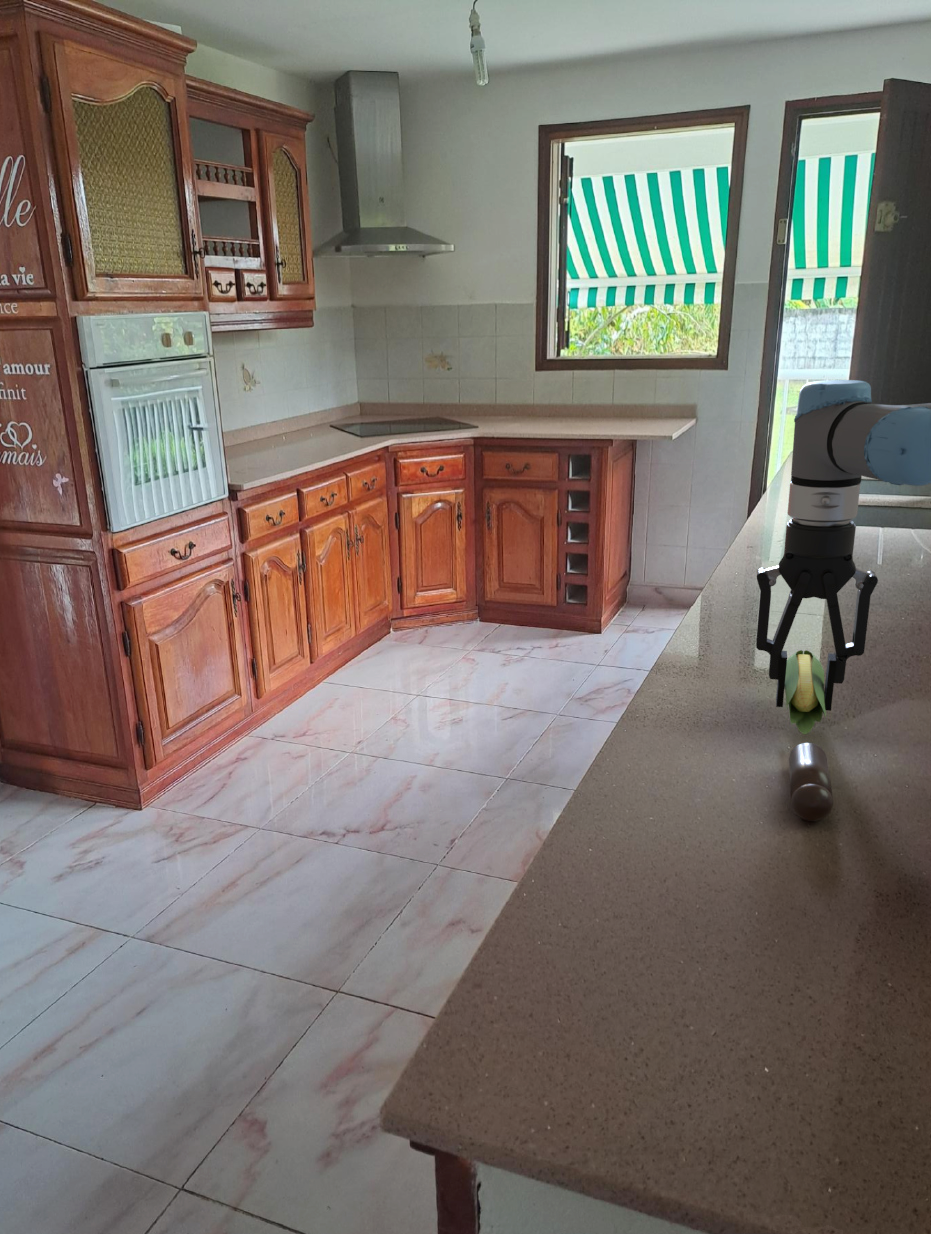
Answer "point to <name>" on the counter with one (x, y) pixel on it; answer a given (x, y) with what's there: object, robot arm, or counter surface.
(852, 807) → the counter surface
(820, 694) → the edible corn
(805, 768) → the dark brown capsule
